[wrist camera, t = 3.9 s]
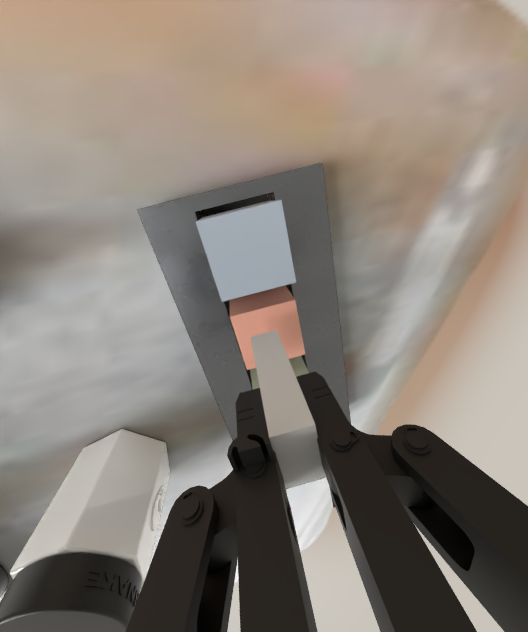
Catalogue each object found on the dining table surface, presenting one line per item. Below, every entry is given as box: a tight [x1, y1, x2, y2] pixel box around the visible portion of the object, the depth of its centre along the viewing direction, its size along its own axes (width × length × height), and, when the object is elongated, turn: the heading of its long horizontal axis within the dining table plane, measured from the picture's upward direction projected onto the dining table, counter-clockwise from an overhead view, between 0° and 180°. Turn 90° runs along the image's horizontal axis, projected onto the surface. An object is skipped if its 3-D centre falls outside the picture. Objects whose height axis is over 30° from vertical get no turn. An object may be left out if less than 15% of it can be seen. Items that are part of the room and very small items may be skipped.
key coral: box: [230, 286, 305, 370], centre depth 18 cm, size 4×4×4 cm
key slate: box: [196, 200, 296, 302], centre depth 14 cm, size 4×4×4 cm
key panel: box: [137, 163, 351, 440], centre depth 21 cm, size 11×23×3 cm, turn 13°
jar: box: [0, 429, 170, 632], centre depth 21 cm, size 9×8×12 cm
